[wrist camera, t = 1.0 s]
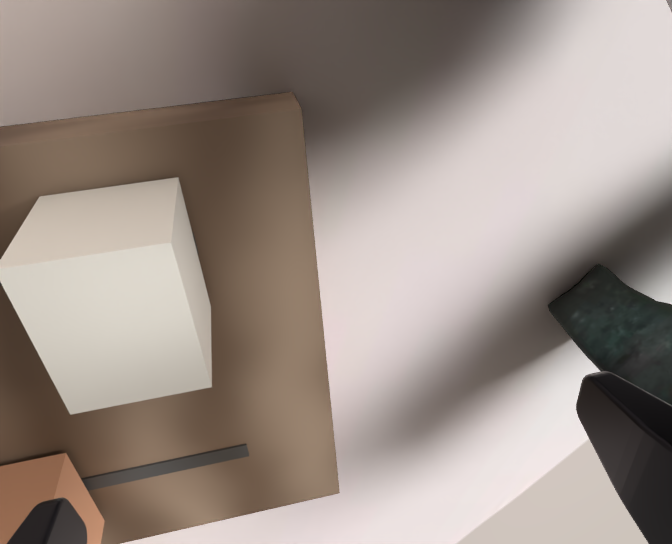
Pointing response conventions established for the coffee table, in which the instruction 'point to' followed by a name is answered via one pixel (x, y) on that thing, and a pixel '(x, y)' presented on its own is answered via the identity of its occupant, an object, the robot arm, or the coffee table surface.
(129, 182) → the fader panel
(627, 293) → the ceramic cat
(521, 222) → the coffee table surface
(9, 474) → the block
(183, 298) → the block
